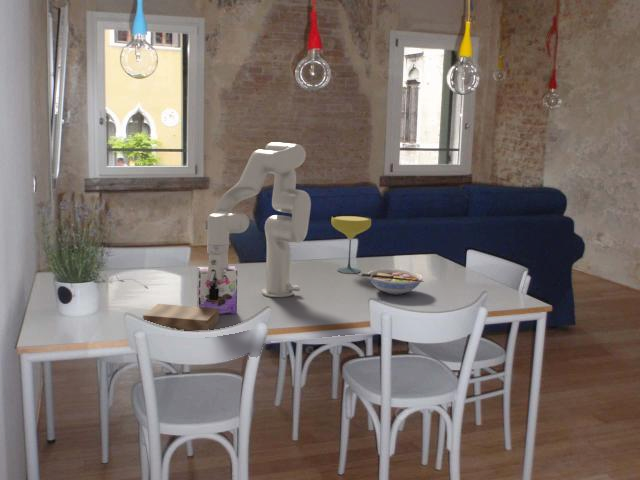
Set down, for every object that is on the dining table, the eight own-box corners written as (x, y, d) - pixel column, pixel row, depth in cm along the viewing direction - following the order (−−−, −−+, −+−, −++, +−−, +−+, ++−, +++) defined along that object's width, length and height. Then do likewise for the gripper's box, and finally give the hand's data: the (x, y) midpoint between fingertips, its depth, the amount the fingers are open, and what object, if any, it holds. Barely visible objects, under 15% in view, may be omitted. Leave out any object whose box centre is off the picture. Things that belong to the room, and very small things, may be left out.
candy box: (198, 315, 251) (198, 270, 248) (196, 310, 256) (197, 266, 254) (237, 313, 255) (237, 269, 252) (234, 309, 260) (235, 265, 257)
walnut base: (218, 319, 247) (219, 308, 247) (207, 332, 234) (207, 320, 233) (158, 314, 250) (158, 303, 249) (143, 326, 237) (143, 315, 236)
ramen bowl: (427, 289, 300) (429, 270, 298) (420, 303, 278) (421, 283, 277) (370, 282, 306) (371, 264, 305) (358, 296, 285) (359, 276, 283)
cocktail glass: (321, 269, 327) (323, 216, 322) (349, 264, 339) (351, 213, 334) (348, 277, 314) (351, 222, 309) (376, 272, 326) (379, 218, 321)
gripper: (221, 254, 242) (220, 303, 246) (234, 244, 259) (233, 291, 263) (200, 252, 243) (199, 302, 247) (214, 243, 260) (213, 289, 264)
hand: (217, 296), depth 255 cm, fingers closed on candy box, 7 cm apart
